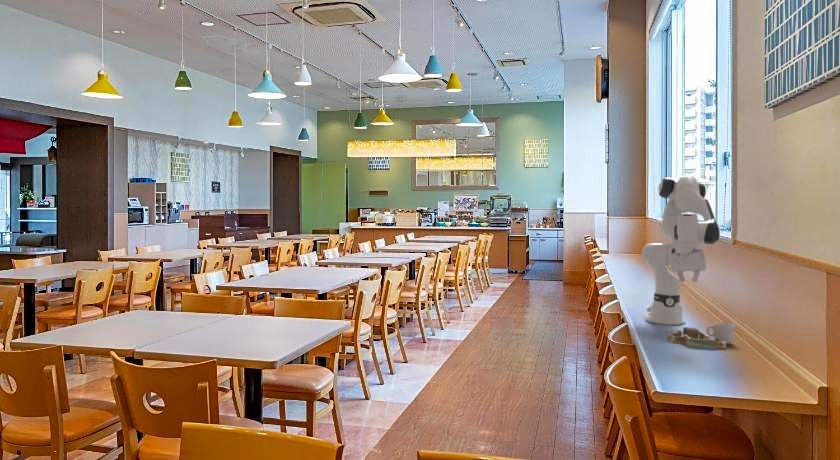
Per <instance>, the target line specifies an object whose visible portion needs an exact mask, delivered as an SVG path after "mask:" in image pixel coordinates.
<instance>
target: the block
mask: <svg viewBox="0 0 840 460" xmlns="http://www.w3.org/2000/svg"><path fill="white" fill-rule="evenodd" d="M699 331H700V330H699V329H698V328H696V327H687V326H683V330H682V335H683V334H685V335H688V336H689V337H690V338H692V339H699Z"/></svg>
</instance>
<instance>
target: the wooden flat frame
mask: <svg viewBox="0 0 840 460" xmlns="http://www.w3.org/2000/svg"><path fill="white" fill-rule="evenodd" d="M710 337H711V336H709V335H708V334H706V333H705V332H704V331H700V330H699V339H692V338H690V337H689V336H688V335H685V334H683V330H680V329H679V330H678V329H677V331H676V332H667V337H666V338H667V340H669V341H670V342H671V343H673V344H684V345H685V346H687V347H688V348H692V349H693V348H694V349H709V350H710V349H711V350H712V349H713V350H716V349H722V350H723V349H725V350H726V349H727V344H726V342H724V341H723V340H721V339H715V337H712V338H710Z"/></svg>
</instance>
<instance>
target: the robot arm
mask: <svg viewBox="0 0 840 460" xmlns="http://www.w3.org/2000/svg"><path fill="white" fill-rule="evenodd" d="M657 188H658V189H657V190H658V194H659V196H660V197H661V198H664V199H668V200H667V202H666V203H665V206H664V210H663V214H662V221H661V227H660V232H661V235H662V236H663V237H664V238H666V239H667V240H670V241H671V243H665V242H664V243H661V242H651V243H646V244H645V245H644V246H643V248H642V250H641V258H642V260H643V261H644V263H646V264H647V265H648V266H649V267H650V269H651V271H652V272H653V276H654V282H655V289H654V293H653V301H652V303H651V304H650V305H649V306H647V307H646V312H647V313H648V314H644V318H645V322H650V323H654V324H658V325H659V324H660V325H668V326H671V325H673V326H674V325H675V326H677V325H681V324H682V325H683V324H686V321H685V320H684V319H683V306H682V305H681V304H680V302H681V301H680V300H681V295H680V283H682V282H685V277H684V272H693V277H691V281H692V282H693V283H694V282H695V283H698V282H699V277H700V273H701V272H704V271H706V269H707V263H706V261H707V260H706V256H705V254H704V253H705V252H704V251H703V249H702V248H700V244H705V245H714V244H715V243H717V242H718V241H719V240H720V237H721V230H720V227H719V224H718V223H717V221H716V218H715V215H714V212H713V210H712V207H711V205H710V203H709V202H710V201H708V199H706V198H705V197H706V195H707V188H706V186H705V184H703V183H701V182H699V181H698V180H697V178H695V177H694V176H692V175H689V174H688V175H683V176H681V177H680V178H672V177H664V178H663V179H662V180H661V181H660V183H659V184H658V187H657ZM698 215H700V216H701V217H702V218H703V221H699V219H698ZM668 267H670V268H671V270H672V271H673V272H677V273H676V274H677V275H676V274H674V273H672V272H671V271H670V270H669V268H668Z"/></svg>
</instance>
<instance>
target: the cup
mask: <svg viewBox="0 0 840 460" xmlns="http://www.w3.org/2000/svg"><path fill="white" fill-rule="evenodd" d="M735 326H736V325H735V324H732V323H729V322H728V323H727V322H715V323H714V324H711V325H708V326H707V328H706V333H707V335H708V336H710V337H712V338H715V339H721V340H723V341H724V342H726V345H729V344H732V342H733V339H734V333H735ZM711 328H712V329H713V333H710V329H711Z"/></svg>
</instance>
